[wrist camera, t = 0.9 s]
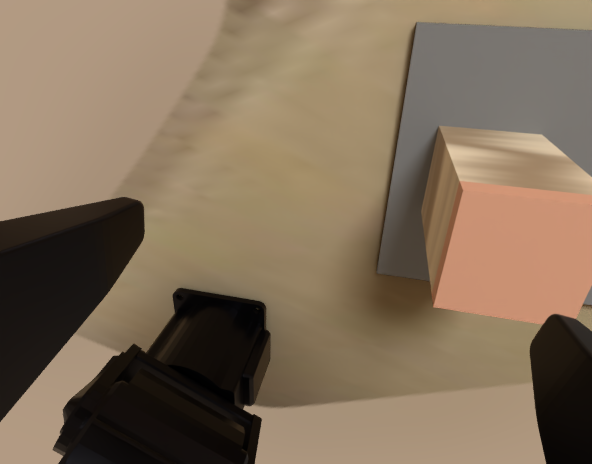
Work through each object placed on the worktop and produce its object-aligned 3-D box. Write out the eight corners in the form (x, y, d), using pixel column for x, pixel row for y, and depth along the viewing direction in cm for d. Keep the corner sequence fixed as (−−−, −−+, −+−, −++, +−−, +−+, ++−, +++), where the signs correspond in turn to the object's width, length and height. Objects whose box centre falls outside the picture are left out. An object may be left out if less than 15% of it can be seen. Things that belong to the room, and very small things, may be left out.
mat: (377, 268, 24) (376, 273, 24) (416, 21, 18) (417, 22, 17) (662, 310, 22) (667, 316, 21) (825, 41, 15) (836, 42, 15)
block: (421, 211, 21) (433, 306, 15) (439, 125, 19) (463, 190, 12) (512, 222, 21) (571, 328, 14) (541, 134, 18) (628, 208, 12)
